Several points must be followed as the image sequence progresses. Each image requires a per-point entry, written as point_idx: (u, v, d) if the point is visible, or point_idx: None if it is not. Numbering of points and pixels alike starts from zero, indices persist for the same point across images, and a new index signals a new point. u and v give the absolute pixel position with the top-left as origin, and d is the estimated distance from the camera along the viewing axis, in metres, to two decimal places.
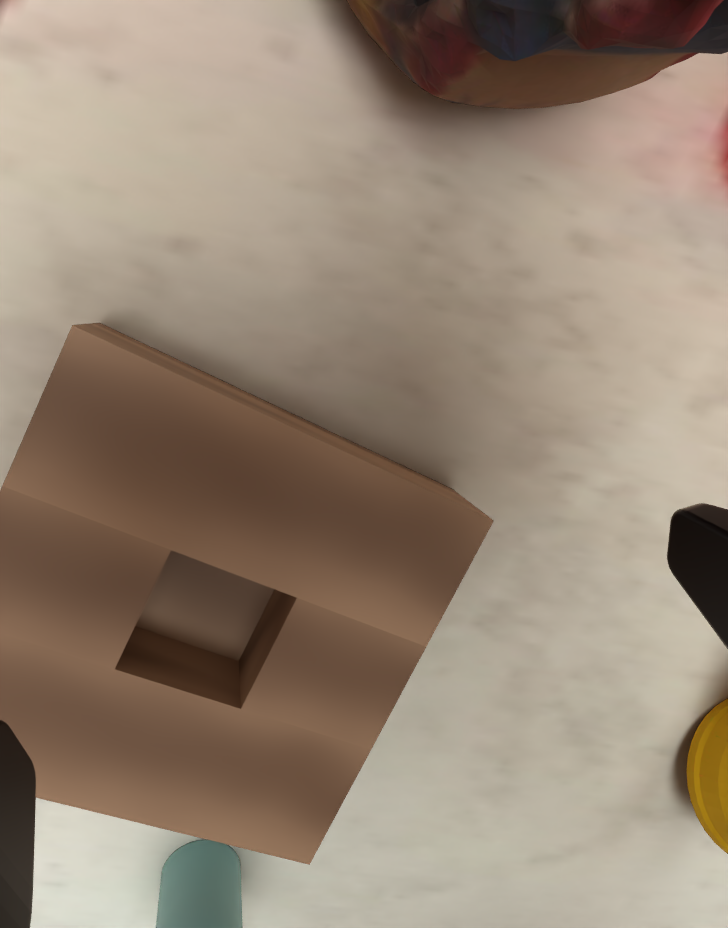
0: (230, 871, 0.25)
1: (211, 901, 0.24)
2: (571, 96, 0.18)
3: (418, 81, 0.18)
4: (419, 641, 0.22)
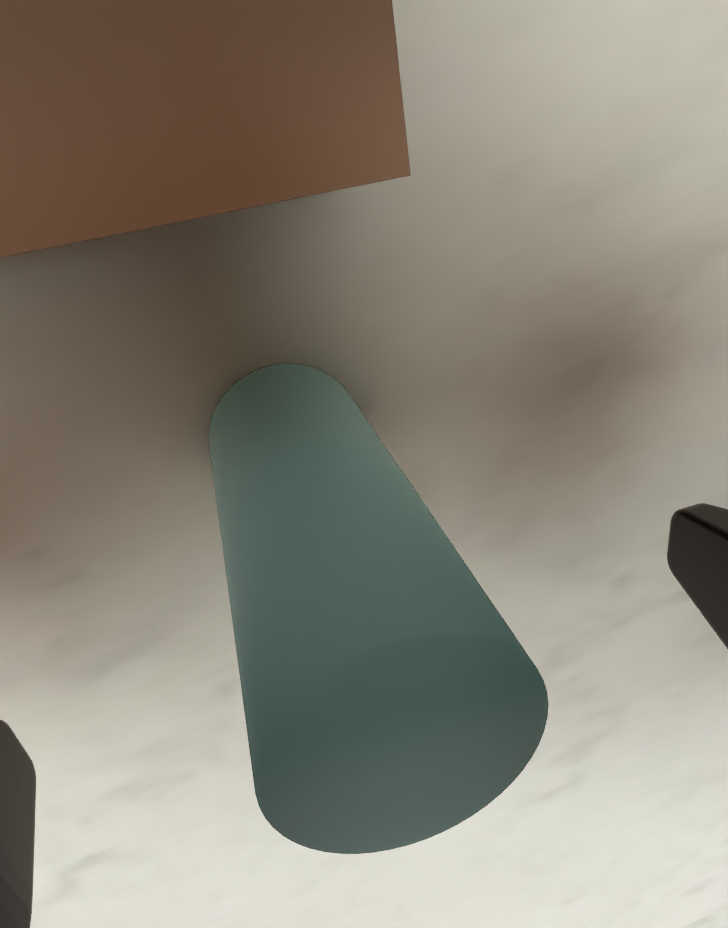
0: (311, 385, 0.12)
1: (282, 427, 0.10)
2: None
3: None
4: None
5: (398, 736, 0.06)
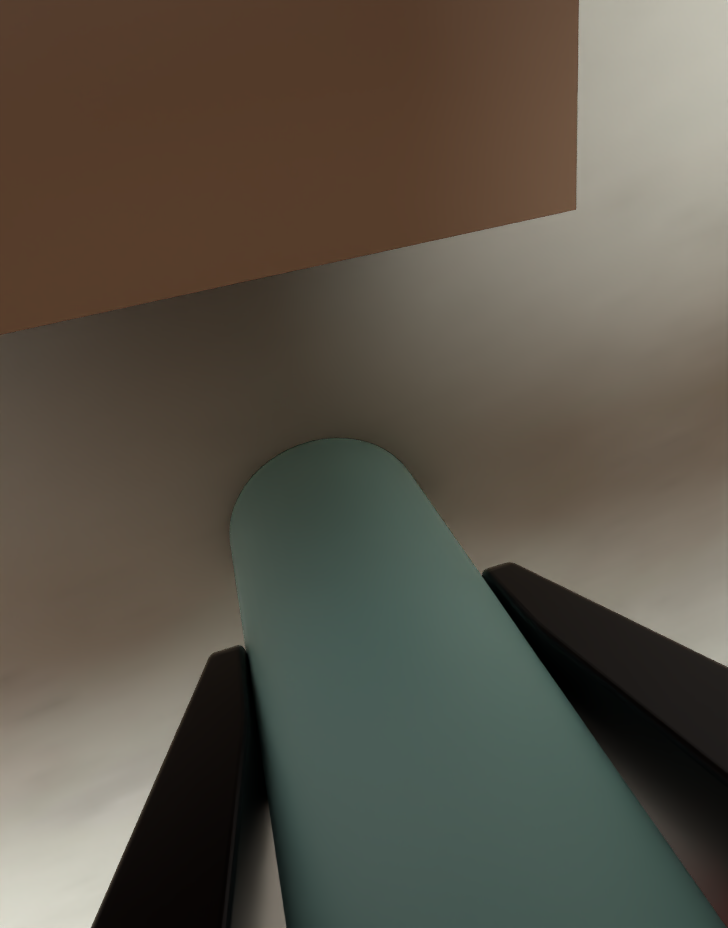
0: (370, 476, 0.09)
1: (341, 555, 0.07)
2: None
3: None
4: None
5: None
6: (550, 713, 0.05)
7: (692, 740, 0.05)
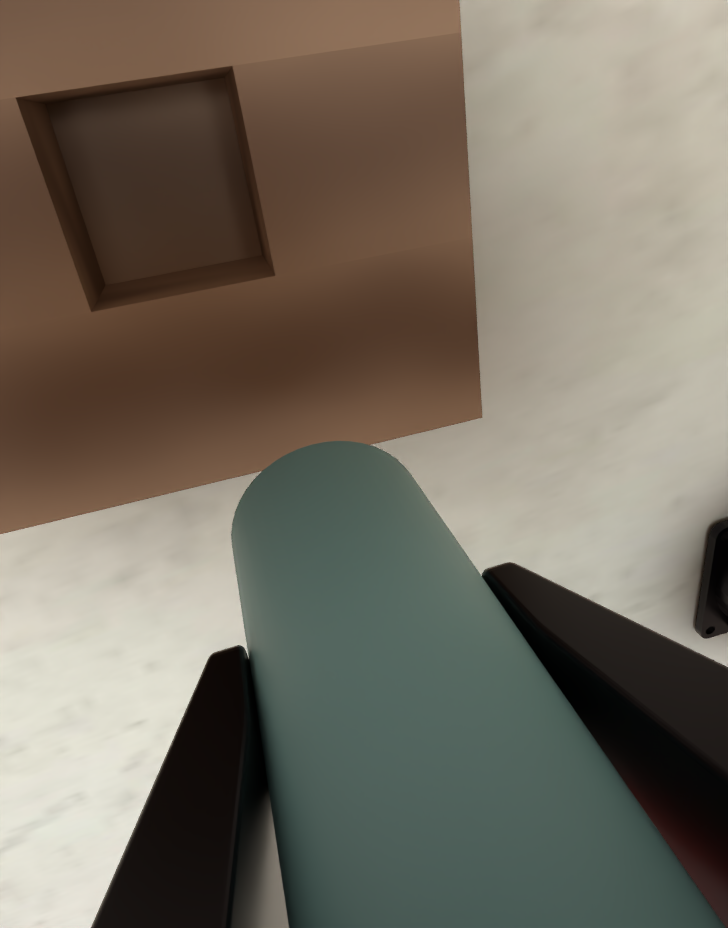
0: (373, 479, 0.09)
1: (342, 557, 0.07)
2: None
3: None
4: (446, 29, 0.13)
5: None
6: (552, 717, 0.05)
7: (692, 740, 0.05)
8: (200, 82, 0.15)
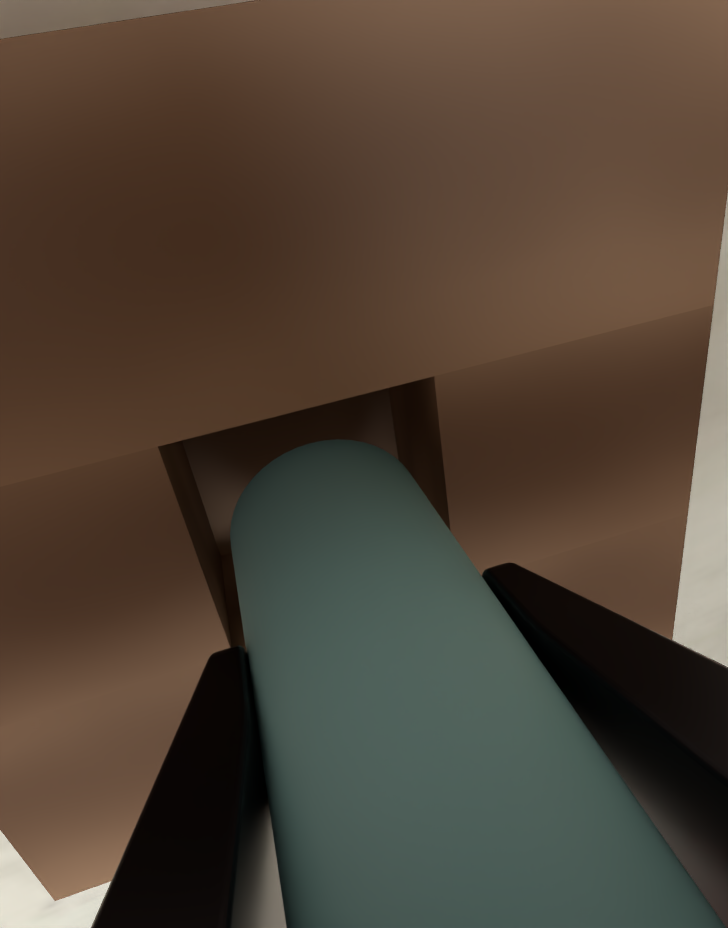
0: (372, 478, 0.09)
1: (340, 557, 0.07)
2: None
3: None
4: (697, 303, 0.10)
5: None
6: (552, 717, 0.05)
7: (692, 740, 0.05)
8: None
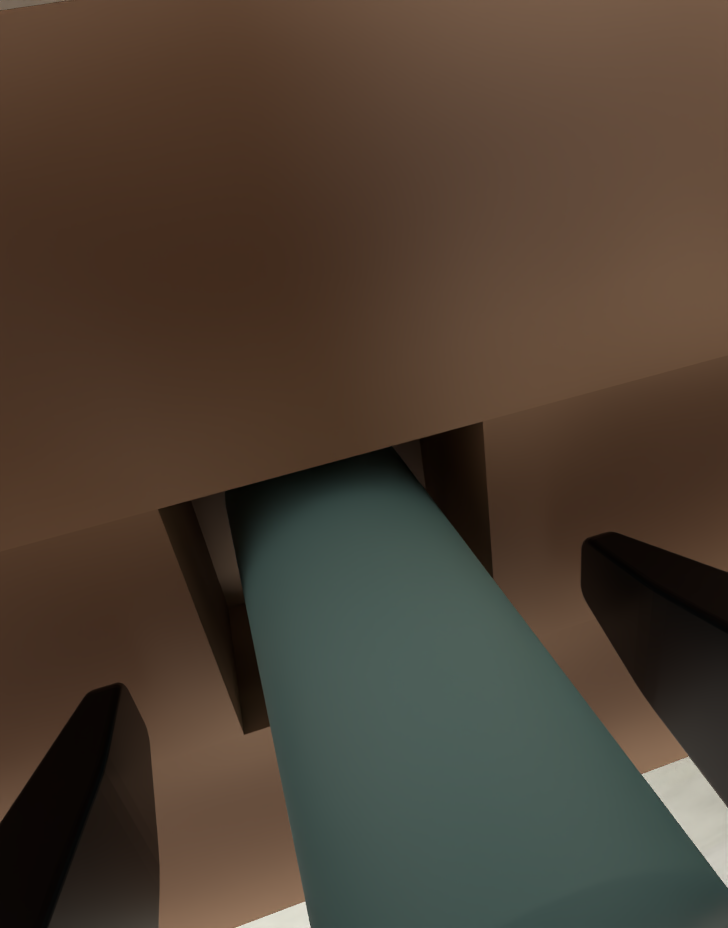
0: None
1: (326, 501, 0.08)
2: None
3: None
4: None
5: None
6: (502, 617, 0.07)
7: None
8: None
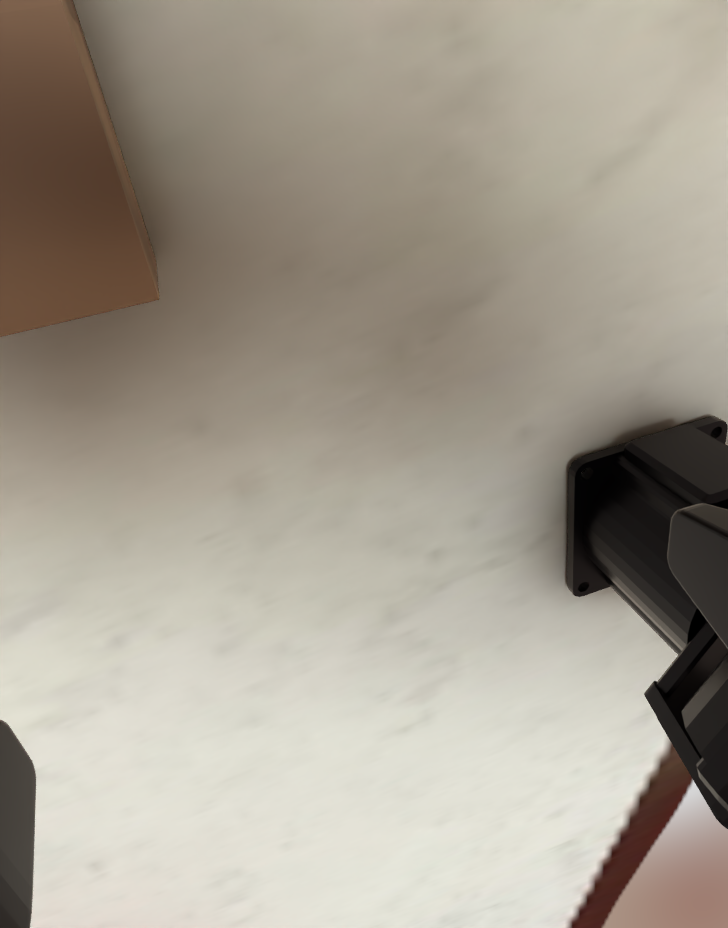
0: None
1: None
2: None
3: None
4: None
5: None
6: None
7: None
8: None
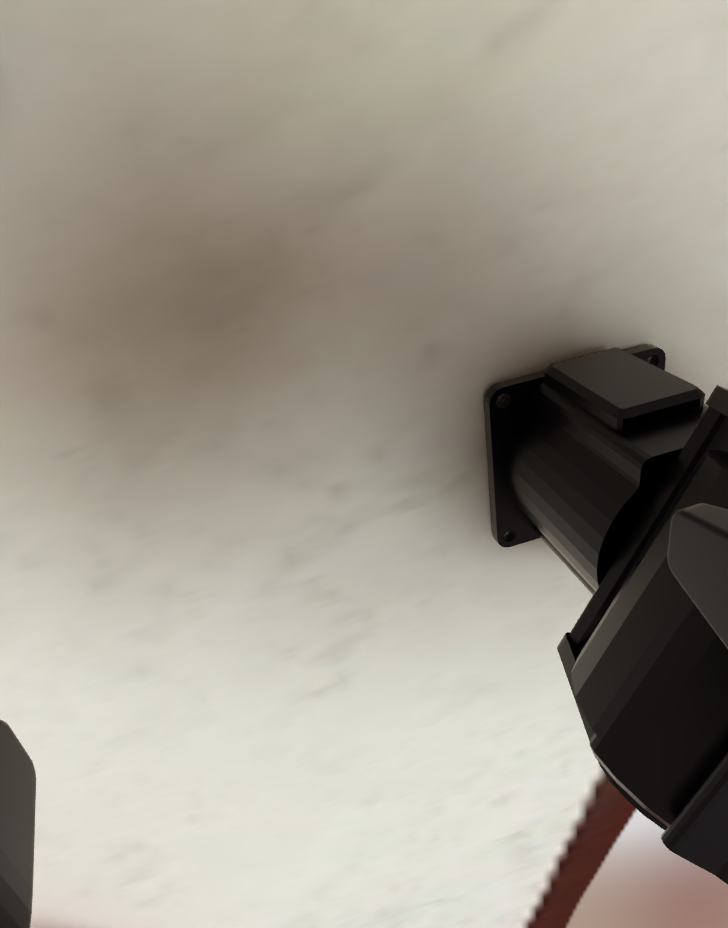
0: None
1: None
2: None
3: None
4: None
5: None
6: None
7: None
8: None
